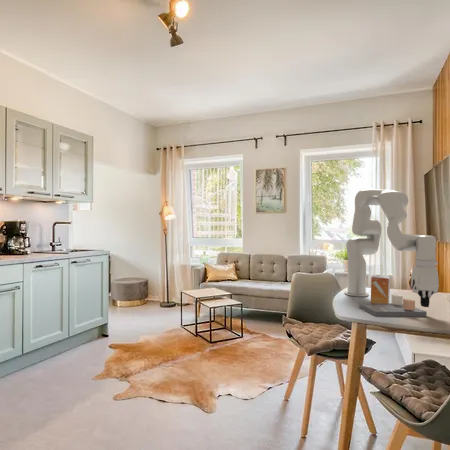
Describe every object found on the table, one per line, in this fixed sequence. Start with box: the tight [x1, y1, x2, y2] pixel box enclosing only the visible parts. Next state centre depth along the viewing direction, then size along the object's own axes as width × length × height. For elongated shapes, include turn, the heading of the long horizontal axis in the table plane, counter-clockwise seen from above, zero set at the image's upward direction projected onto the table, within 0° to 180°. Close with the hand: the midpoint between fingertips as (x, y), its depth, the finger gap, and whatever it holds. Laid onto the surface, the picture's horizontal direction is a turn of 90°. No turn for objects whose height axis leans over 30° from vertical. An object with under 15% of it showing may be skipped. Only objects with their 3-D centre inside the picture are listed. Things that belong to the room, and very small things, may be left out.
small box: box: [370, 275, 391, 303], centre depth 176 cm, size 8×6×13 cm
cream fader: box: [391, 293, 404, 305], centre depth 162 cm, size 4×3×4 cm
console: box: [358, 302, 428, 317], centre depth 157 cm, size 16×22×2 cm
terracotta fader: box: [402, 298, 416, 310], centre depth 152 cm, size 4×3×4 cm
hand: (424, 306), depth 153 cm, fingers closed
